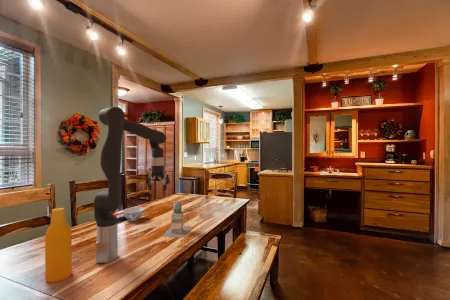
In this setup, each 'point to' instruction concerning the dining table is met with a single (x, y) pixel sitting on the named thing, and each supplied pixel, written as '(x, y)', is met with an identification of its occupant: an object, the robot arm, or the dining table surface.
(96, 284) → the dining table surface
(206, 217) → the dining table surface
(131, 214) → the chinaware
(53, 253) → the beer bottle
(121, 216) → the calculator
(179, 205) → the cylinder
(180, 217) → the top block
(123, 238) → the dining table surface
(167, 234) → the tower board
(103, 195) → the robot arm
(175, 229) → the base block
